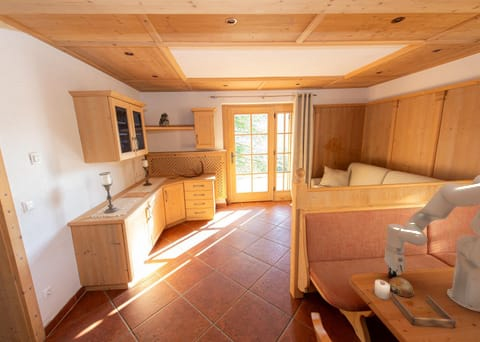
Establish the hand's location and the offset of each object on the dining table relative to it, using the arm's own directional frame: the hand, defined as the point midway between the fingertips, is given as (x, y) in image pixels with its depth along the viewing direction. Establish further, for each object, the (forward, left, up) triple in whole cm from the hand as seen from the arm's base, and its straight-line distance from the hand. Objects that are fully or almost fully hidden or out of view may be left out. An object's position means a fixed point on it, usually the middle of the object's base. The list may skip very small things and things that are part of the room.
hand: (392, 278), depth 105 cm
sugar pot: (+11, +11, -1) cm, 15 cm away
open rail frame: (0, +20, -1) cm, 20 cm away
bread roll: (0, +7, -2) cm, 7 cm away
